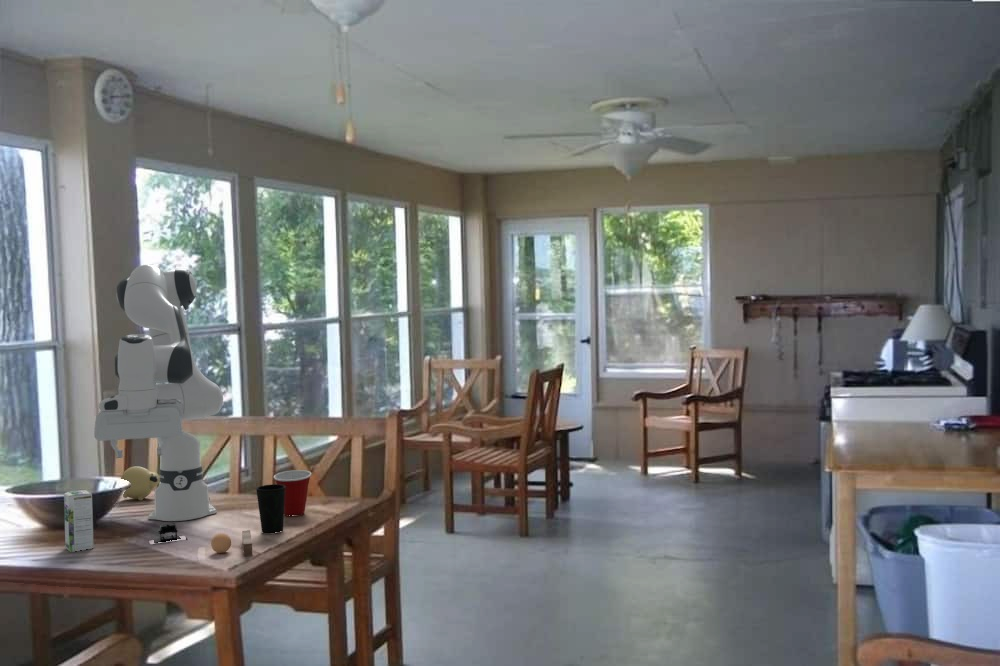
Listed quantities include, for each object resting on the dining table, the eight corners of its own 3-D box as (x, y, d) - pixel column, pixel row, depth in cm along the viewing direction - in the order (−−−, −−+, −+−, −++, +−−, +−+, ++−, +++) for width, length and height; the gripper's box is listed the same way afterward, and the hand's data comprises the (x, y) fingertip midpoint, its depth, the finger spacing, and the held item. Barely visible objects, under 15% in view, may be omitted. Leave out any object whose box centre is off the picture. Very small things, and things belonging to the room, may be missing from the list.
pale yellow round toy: (158, 501, 295) (156, 467, 295) (117, 504, 293) (116, 470, 292) (162, 495, 305) (161, 462, 304) (123, 497, 302) (121, 464, 302)
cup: (279, 535, 248) (277, 490, 247) (252, 534, 250) (251, 489, 249) (291, 528, 255) (290, 484, 255) (265, 527, 257) (264, 484, 257)
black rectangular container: (144, 548, 241) (143, 530, 240) (141, 542, 247) (140, 525, 247) (194, 541, 246) (194, 524, 246) (190, 535, 253) (189, 518, 252)
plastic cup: (269, 519, 267) (267, 477, 267) (282, 510, 278) (280, 470, 277) (306, 519, 266) (304, 477, 265) (317, 510, 276) (316, 469, 276)
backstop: (242, 542, 242) (242, 530, 241) (250, 541, 242) (250, 530, 242) (243, 556, 228) (243, 544, 228) (252, 555, 229) (251, 543, 229)
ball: (234, 541, 235) (219, 554, 234) (222, 527, 234) (206, 540, 233) (235, 546, 231) (219, 559, 230) (223, 531, 230) (207, 544, 229)
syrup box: (64, 548, 240) (62, 492, 240) (89, 544, 244) (86, 489, 243) (70, 553, 236) (67, 495, 235) (95, 548, 239) (92, 492, 239)
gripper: (183, 396, 236) (184, 451, 237) (95, 401, 230) (97, 456, 231) (182, 400, 230) (184, 455, 231) (92, 404, 224) (94, 461, 225)
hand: (140, 456), depth 231 cm, fingers open, 8 cm apart
